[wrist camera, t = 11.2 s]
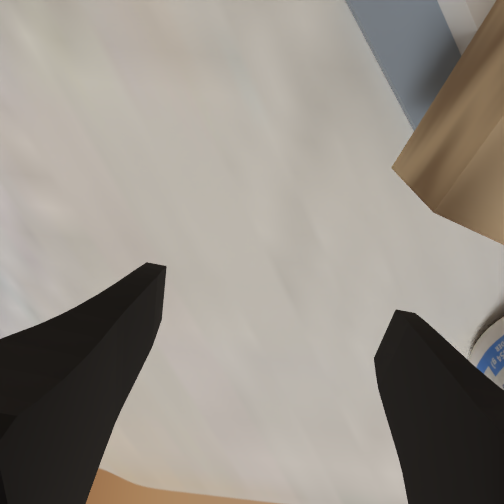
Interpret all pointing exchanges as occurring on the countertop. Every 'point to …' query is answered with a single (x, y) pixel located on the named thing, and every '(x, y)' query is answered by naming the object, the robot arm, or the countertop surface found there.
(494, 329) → the supplement tub
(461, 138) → the oak stick
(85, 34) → the countertop surface
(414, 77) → the fulcrum stand
